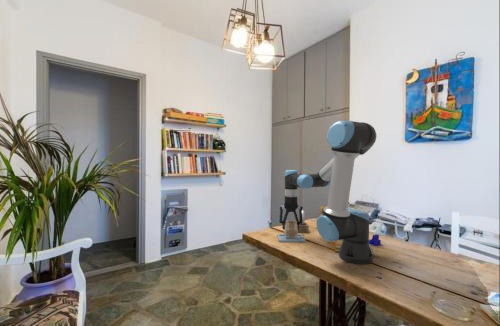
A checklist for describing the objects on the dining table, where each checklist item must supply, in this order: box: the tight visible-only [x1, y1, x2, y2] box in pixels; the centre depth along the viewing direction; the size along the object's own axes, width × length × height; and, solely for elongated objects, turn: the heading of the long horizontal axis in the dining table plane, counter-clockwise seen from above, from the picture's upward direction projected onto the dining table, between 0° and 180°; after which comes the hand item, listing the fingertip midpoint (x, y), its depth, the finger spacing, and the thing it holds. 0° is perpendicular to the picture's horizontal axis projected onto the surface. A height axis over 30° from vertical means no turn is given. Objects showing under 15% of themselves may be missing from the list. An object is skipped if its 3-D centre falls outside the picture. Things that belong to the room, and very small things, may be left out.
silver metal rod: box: [300, 209, 306, 225], centre depth 157 cm, size 3×3×14 cm
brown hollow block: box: [298, 222, 310, 234], centre depth 157 cm, size 7×7×5 cm
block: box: [285, 220, 297, 237], centre depth 142 cm, size 6×6×8 cm
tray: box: [276, 233, 307, 243], centre depth 142 cm, size 11×15×1 cm
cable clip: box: [369, 233, 382, 247], centre depth 137 cm, size 12×4×6 cm, turn 25°
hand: (290, 234), depth 142 cm, fingers closed on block, 6 cm apart
